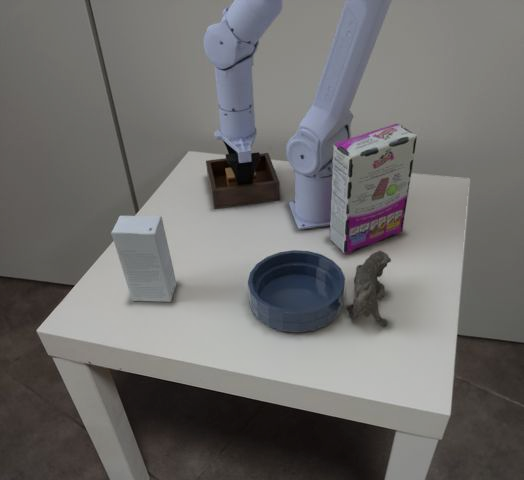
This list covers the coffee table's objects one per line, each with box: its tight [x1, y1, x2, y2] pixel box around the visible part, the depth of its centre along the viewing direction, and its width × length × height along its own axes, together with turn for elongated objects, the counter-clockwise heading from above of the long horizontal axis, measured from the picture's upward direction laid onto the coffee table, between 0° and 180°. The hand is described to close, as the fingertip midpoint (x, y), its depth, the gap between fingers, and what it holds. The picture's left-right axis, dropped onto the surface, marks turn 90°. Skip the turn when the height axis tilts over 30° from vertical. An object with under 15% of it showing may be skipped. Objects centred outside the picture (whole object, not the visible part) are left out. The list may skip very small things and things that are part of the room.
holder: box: [205, 152, 281, 210], centre depth 97 cm, size 12×11×4 cm
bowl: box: [247, 249, 346, 333], centre depth 76 cm, size 13×13×4 cm
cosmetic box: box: [110, 215, 177, 303], centre depth 76 cm, size 6×4×12 cm
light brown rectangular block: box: [225, 168, 257, 187], centre depth 97 cm, size 5×4×3 cm
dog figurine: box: [346, 250, 392, 326], centre depth 74 cm, size 12×6×7 cm, turn 166°
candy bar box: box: [329, 123, 418, 255], centre depth 81 cm, size 11×5×16 cm, turn 117°
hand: (242, 180), depth 97 cm, fingers open, 6 cm apart
